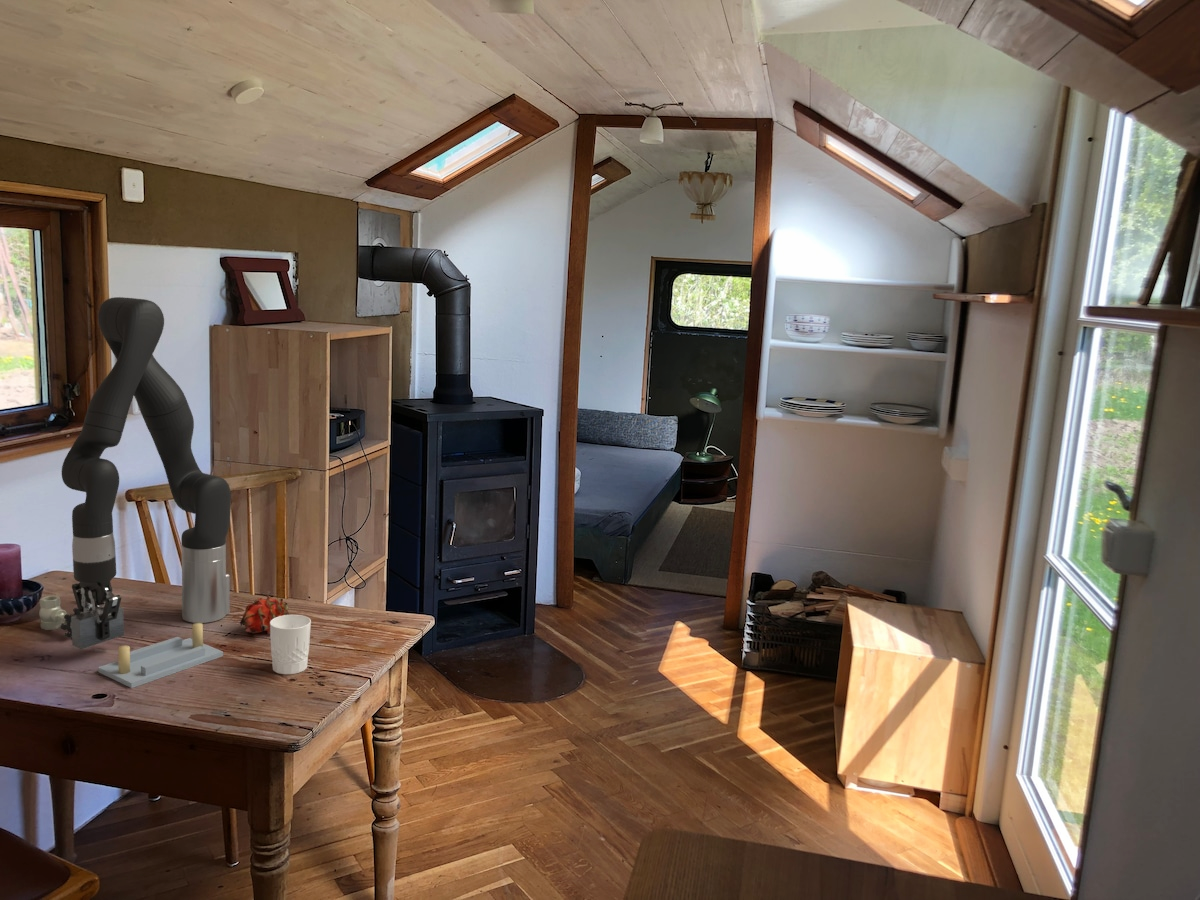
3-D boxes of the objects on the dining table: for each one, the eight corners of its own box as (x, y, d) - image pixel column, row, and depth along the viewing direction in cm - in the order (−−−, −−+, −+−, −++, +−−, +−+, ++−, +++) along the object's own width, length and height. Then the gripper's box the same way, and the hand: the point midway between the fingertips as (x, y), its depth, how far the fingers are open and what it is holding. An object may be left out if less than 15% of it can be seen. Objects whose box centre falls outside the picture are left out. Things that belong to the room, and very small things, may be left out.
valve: (30, 629, 201) (63, 643, 195) (28, 600, 199) (62, 613, 194) (60, 620, 206) (93, 634, 201) (59, 592, 205) (93, 604, 199)
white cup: (268, 662, 193) (268, 616, 191) (307, 658, 196) (308, 613, 194) (270, 677, 186) (271, 630, 184) (312, 673, 189) (313, 627, 187)
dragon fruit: (293, 631, 213) (245, 652, 205) (273, 603, 216) (225, 623, 207) (302, 610, 208) (253, 631, 199) (282, 581, 211) (233, 600, 202)
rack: (189, 642, 200) (189, 615, 199) (223, 656, 194) (222, 628, 193) (98, 672, 183) (97, 643, 182) (131, 688, 177) (131, 658, 176)
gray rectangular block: (115, 631, 194) (114, 604, 193) (124, 635, 193) (123, 607, 192) (72, 645, 187) (70, 616, 186) (80, 649, 185) (79, 620, 184)
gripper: (133, 558, 186) (136, 639, 189) (92, 543, 193) (96, 622, 196) (96, 567, 180) (100, 651, 183) (55, 551, 187) (60, 633, 190)
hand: (98, 635), depth 190 cm, fingers closed on gray rectangular block, 3 cm apart
